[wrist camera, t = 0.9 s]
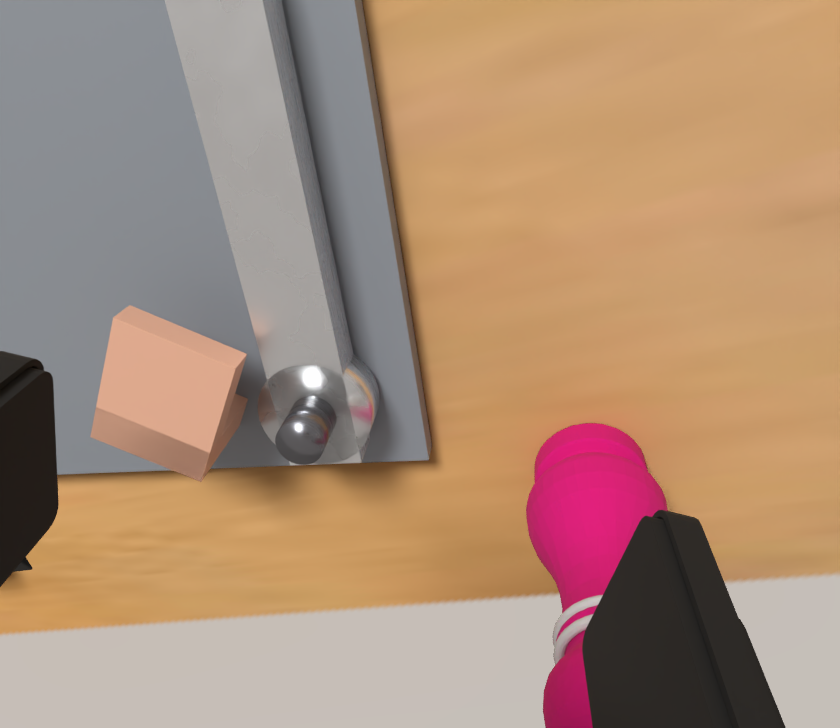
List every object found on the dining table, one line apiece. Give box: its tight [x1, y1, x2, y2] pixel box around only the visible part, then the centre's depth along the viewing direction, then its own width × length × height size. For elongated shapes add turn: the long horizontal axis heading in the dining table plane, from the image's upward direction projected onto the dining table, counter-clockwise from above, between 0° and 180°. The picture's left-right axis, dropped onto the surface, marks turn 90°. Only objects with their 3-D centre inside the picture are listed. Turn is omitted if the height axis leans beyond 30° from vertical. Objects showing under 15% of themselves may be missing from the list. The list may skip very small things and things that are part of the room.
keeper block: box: [90, 305, 248, 482], centre depth 36 cm, size 6×7×7 cm
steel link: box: [165, 0, 380, 466], centre depth 31 cm, size 24×6×5 cm, turn 8°
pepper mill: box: [526, 423, 668, 728], centre depth 31 cm, size 7×7×20 cm
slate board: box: [0, 0, 432, 475], centre depth 36 cm, size 26×28×2 cm
